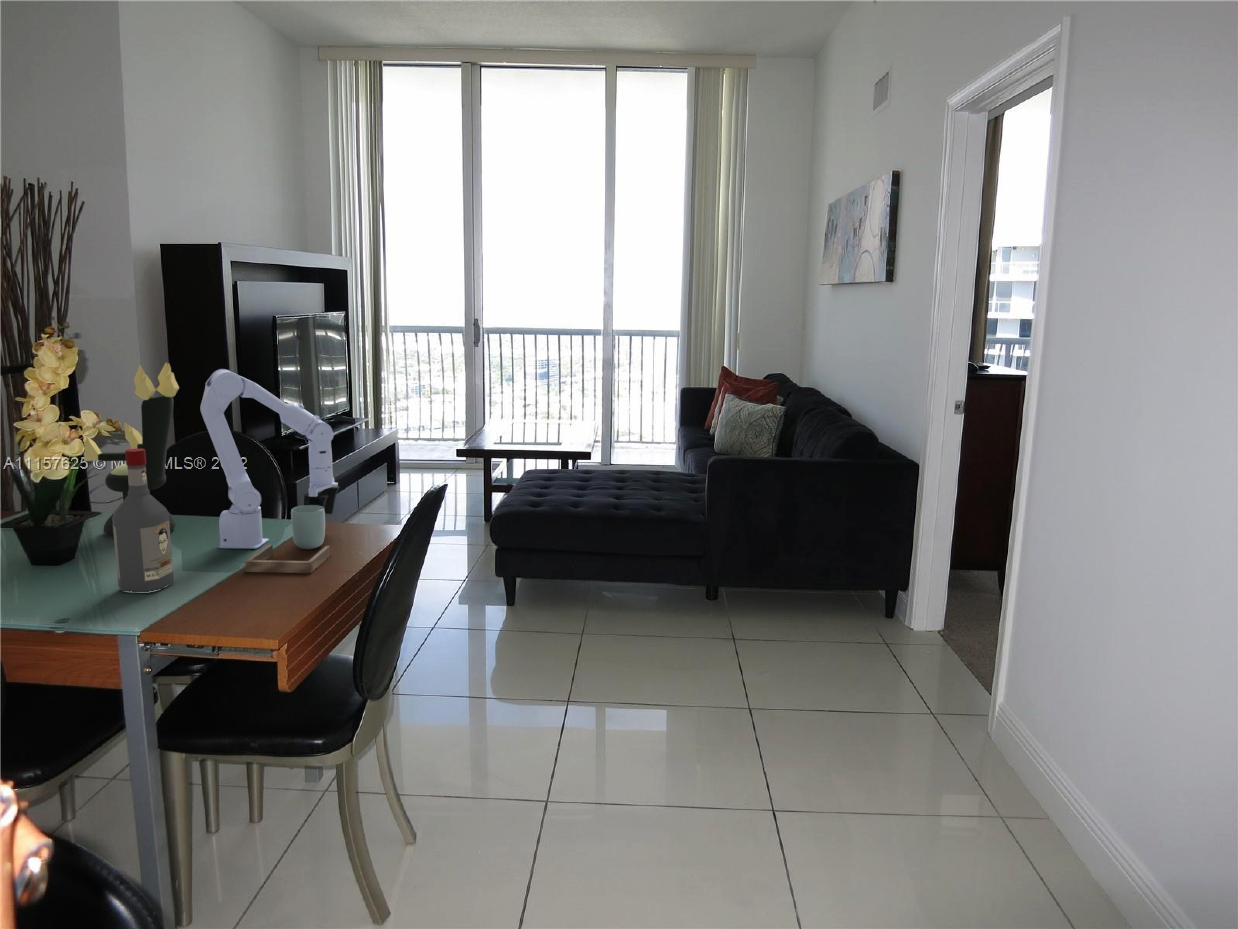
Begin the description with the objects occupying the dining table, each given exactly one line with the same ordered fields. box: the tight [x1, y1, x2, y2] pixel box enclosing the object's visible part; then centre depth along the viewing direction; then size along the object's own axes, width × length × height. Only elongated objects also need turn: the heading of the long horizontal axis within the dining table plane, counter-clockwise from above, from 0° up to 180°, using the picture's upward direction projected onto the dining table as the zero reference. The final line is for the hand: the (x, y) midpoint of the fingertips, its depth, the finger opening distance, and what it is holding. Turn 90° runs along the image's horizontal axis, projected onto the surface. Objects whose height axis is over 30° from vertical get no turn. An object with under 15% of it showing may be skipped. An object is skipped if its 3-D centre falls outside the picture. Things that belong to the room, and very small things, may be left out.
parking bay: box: [244, 544, 331, 574], centre depth 206 cm, size 15×14×2 cm
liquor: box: [112, 448, 175, 592], centre depth 185 cm, size 9×9×30 cm
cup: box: [290, 504, 326, 550], centre depth 218 cm, size 8×8×10 cm
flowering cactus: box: [83, 361, 180, 539], centre depth 225 cm, size 19×22×45 cm
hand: (323, 517), depth 229 cm, fingers open, 7 cm apart
